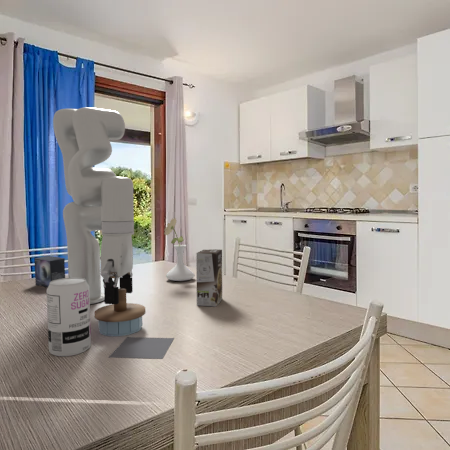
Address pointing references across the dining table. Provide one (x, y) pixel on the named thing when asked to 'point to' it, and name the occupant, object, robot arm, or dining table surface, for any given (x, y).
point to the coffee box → (209, 277)
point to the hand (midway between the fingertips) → (119, 298)
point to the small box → (49, 270)
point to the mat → (142, 348)
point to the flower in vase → (178, 258)
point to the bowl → (120, 327)
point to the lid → (120, 310)
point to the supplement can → (68, 316)
